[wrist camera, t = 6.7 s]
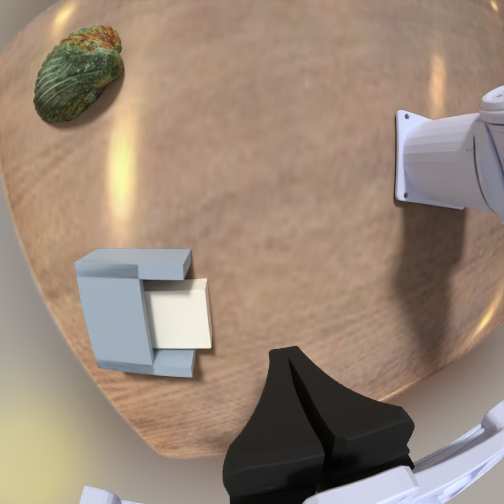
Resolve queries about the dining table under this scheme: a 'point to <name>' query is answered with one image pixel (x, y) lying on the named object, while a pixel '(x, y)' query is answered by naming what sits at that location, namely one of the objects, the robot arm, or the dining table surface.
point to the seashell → (77, 73)
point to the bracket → (129, 309)
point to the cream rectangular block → (178, 313)
